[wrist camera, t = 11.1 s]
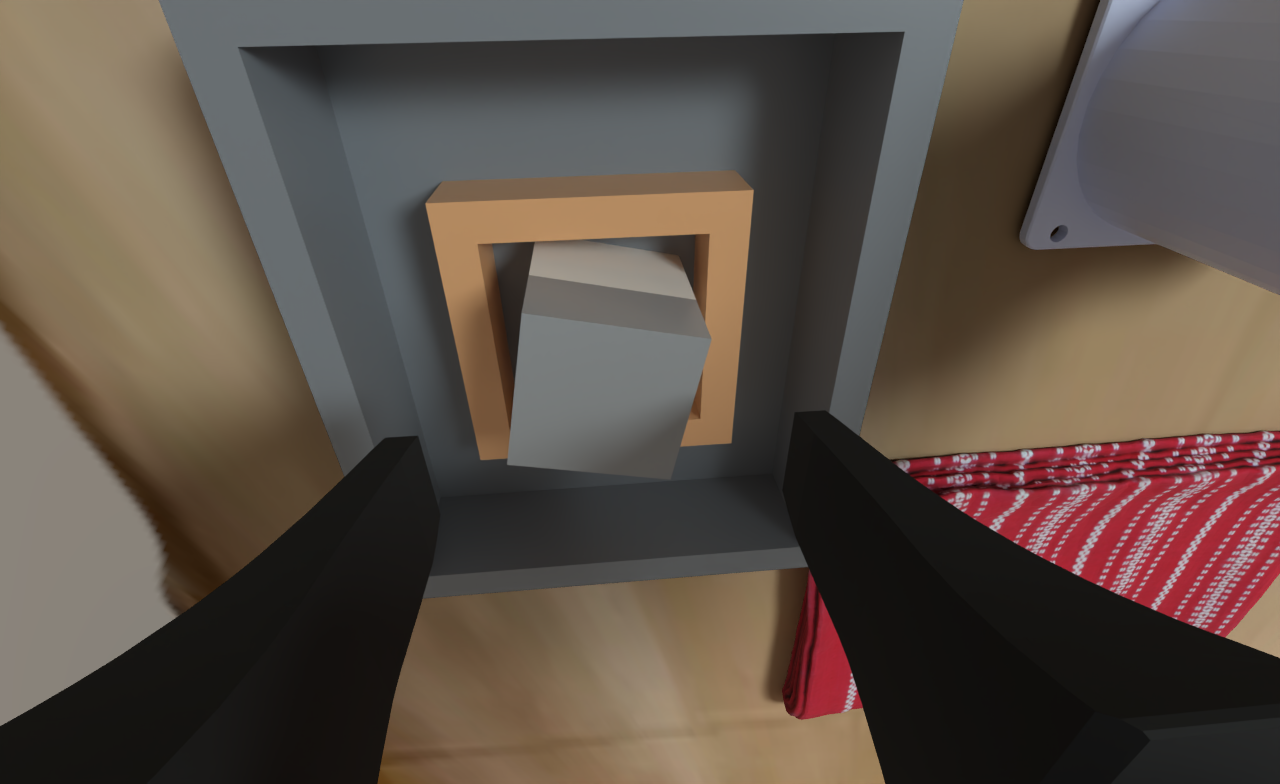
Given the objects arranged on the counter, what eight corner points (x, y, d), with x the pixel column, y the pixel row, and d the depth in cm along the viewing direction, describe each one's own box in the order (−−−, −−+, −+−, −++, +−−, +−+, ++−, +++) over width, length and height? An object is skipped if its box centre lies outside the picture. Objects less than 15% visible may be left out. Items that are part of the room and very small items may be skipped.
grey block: (678, 255, 17) (711, 339, 13) (650, 374, 19) (670, 479, 15) (536, 232, 16) (521, 312, 12) (523, 358, 18) (507, 465, 14)
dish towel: (808, 454, 23) (831, 502, 21) (1361, 409, 25) (1438, 450, 22) (769, 690, 33) (782, 740, 31) (1169, 649, 34) (1210, 694, 32)
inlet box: (869, -25, 14) (972, -36, 10) (787, 474, 23) (828, 565, 19) (269, -15, 13) (149, -23, 10) (424, 500, 22) (392, 601, 18)
